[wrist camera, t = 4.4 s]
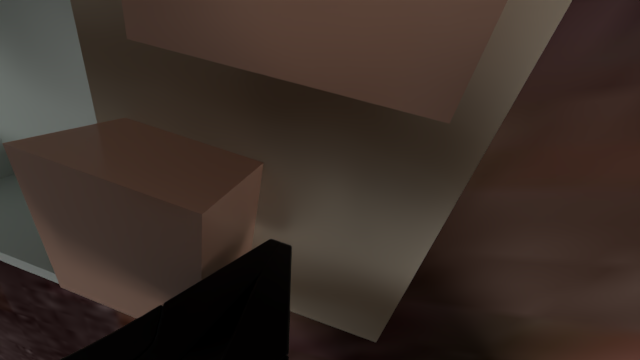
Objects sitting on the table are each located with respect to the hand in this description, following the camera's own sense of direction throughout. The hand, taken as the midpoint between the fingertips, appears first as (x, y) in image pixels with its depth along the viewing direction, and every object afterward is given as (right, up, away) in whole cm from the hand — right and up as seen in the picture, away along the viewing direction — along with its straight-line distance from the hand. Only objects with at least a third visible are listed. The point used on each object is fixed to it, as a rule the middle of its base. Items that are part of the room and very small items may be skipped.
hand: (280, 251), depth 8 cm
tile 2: (-3, +1, +1) cm, 4 cm away
